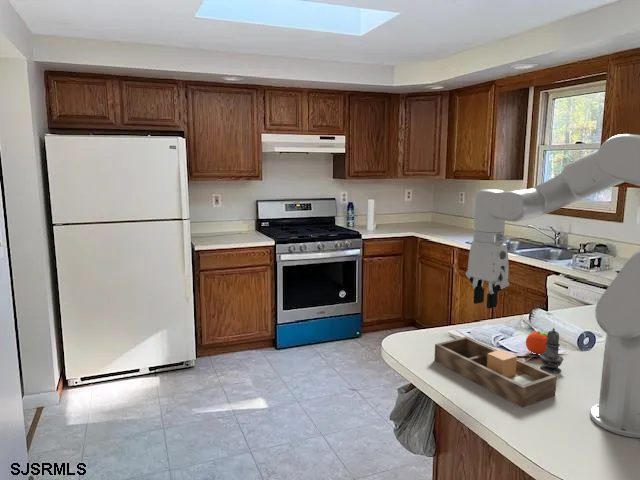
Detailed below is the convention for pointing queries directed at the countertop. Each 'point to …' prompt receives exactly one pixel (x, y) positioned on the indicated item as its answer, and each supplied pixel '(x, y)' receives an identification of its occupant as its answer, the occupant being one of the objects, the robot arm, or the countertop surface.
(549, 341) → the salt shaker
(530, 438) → the countertop surface
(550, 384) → the wooden divided tray
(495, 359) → the block
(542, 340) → the clementine
